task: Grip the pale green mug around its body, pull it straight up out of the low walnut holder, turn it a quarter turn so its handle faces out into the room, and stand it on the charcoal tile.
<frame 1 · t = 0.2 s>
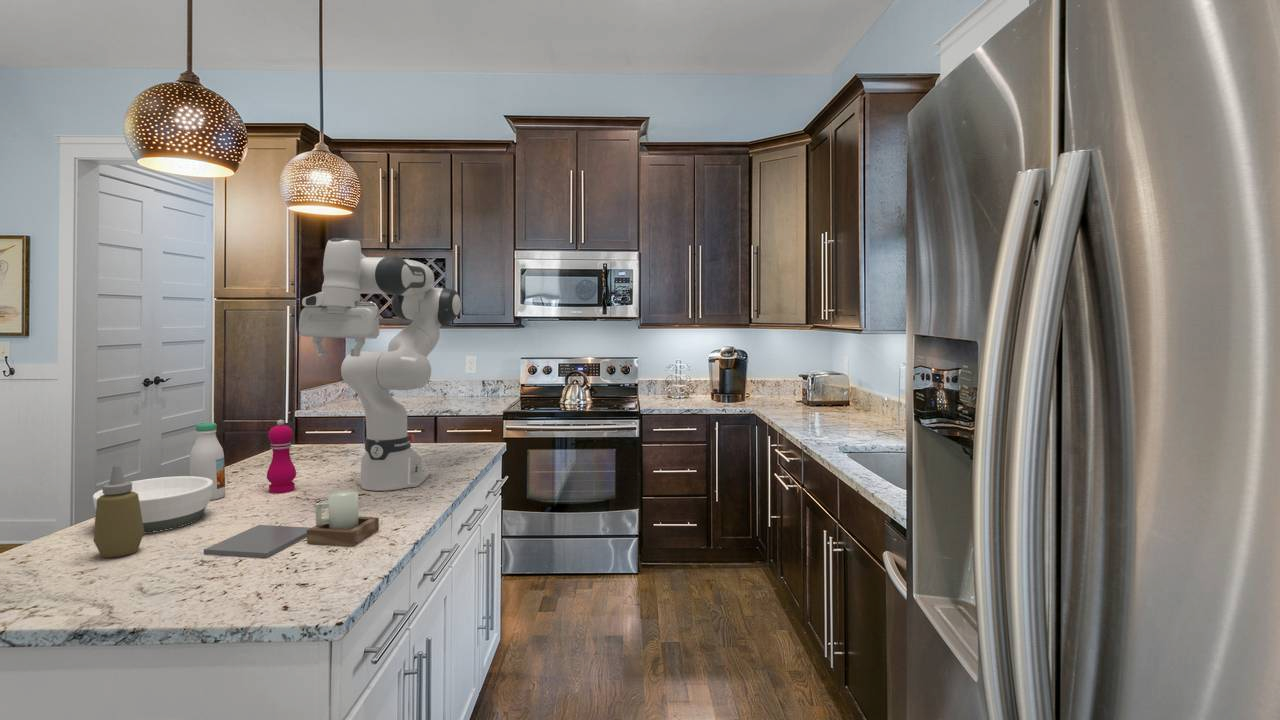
hand: (337, 356, 160), 39 cm above the countertop, tool pointing down, fingers open, 8 cm apart
squeeze bottle: (120, 554, 130), on the countertop
charcoal tile: (262, 542, 137), on the countertop
pepper mill: (282, 491, 179), on the countertop
walnut holder: (344, 536, 142), on the countertop
bowl: (156, 523, 150), on the countertop
milk bottle: (208, 498, 171), on the countertop
pale green mug: (344, 537, 142), resting in walnut holder
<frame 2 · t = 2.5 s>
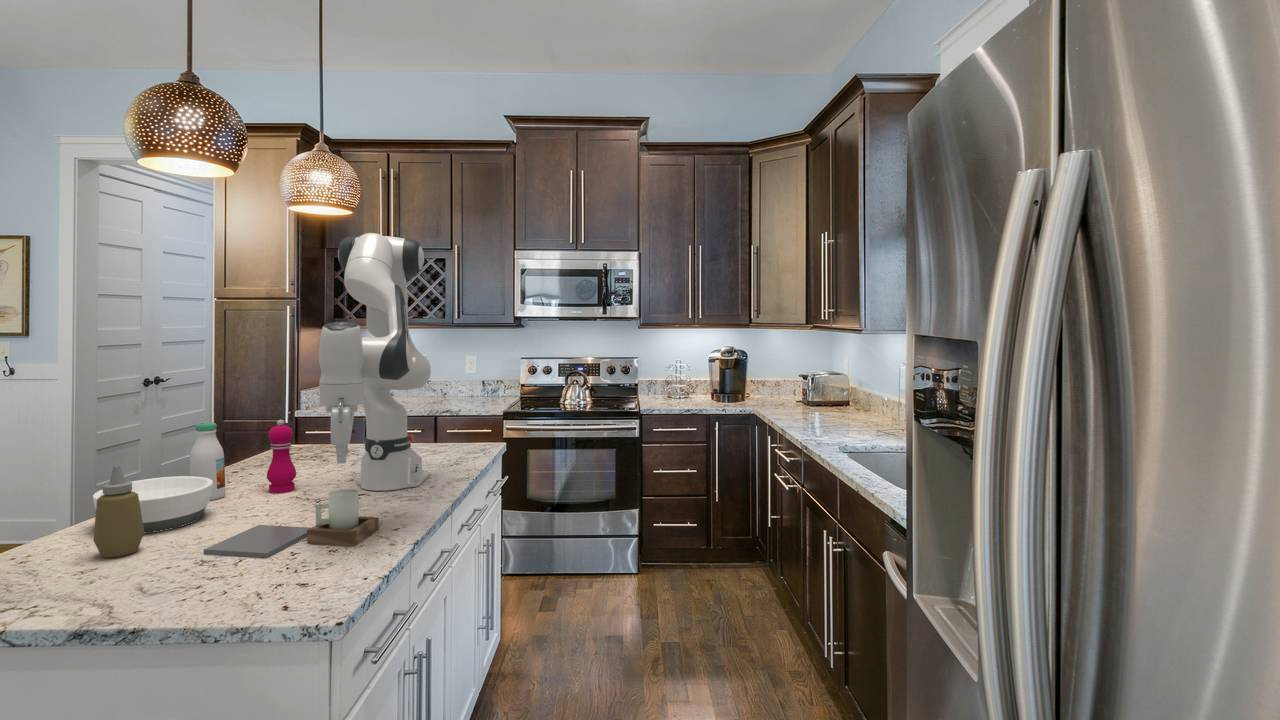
hand: (342, 458, 140), 18 cm above the countertop, tool pointing down, fingers open, 8 cm apart
nothing on the countertop moved.
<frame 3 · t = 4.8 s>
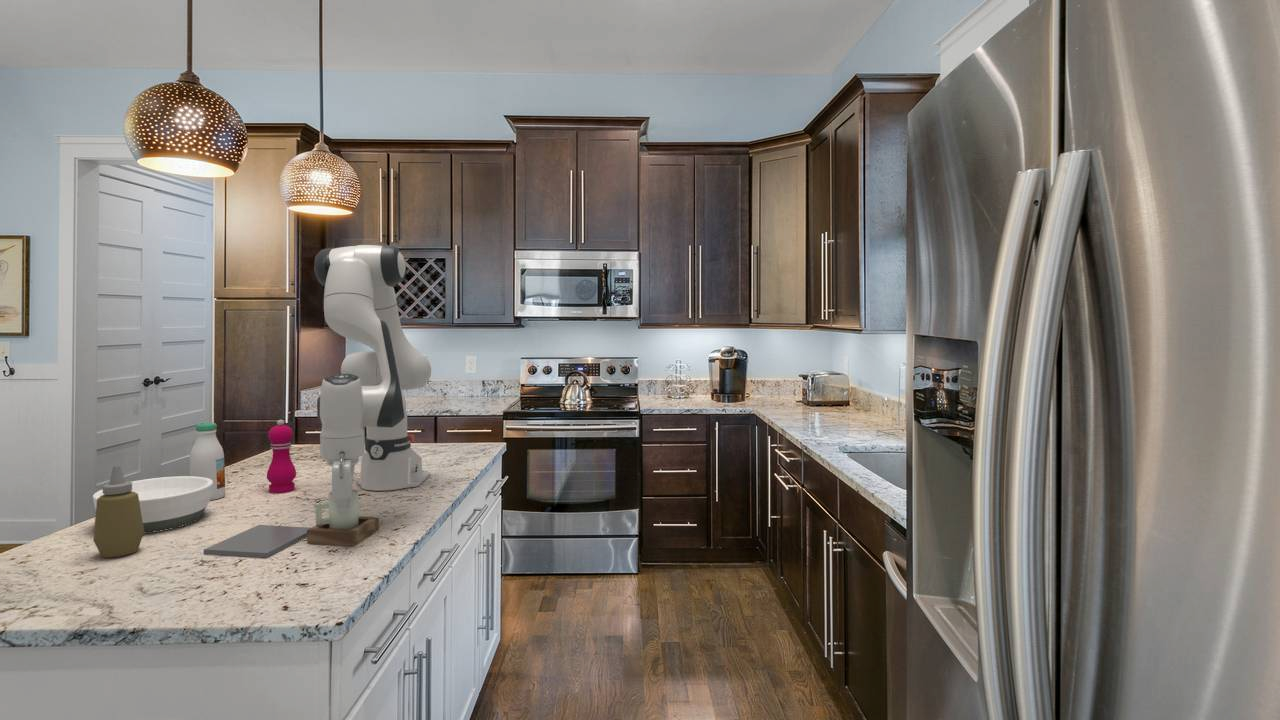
hand: (343, 509, 141), 6 cm above the countertop, tool pointing down, fingers closed on pale green mug, 6 cm apart
pale green mug: (344, 536, 142), resting in walnut holder, touching gripper
everything else where it was.
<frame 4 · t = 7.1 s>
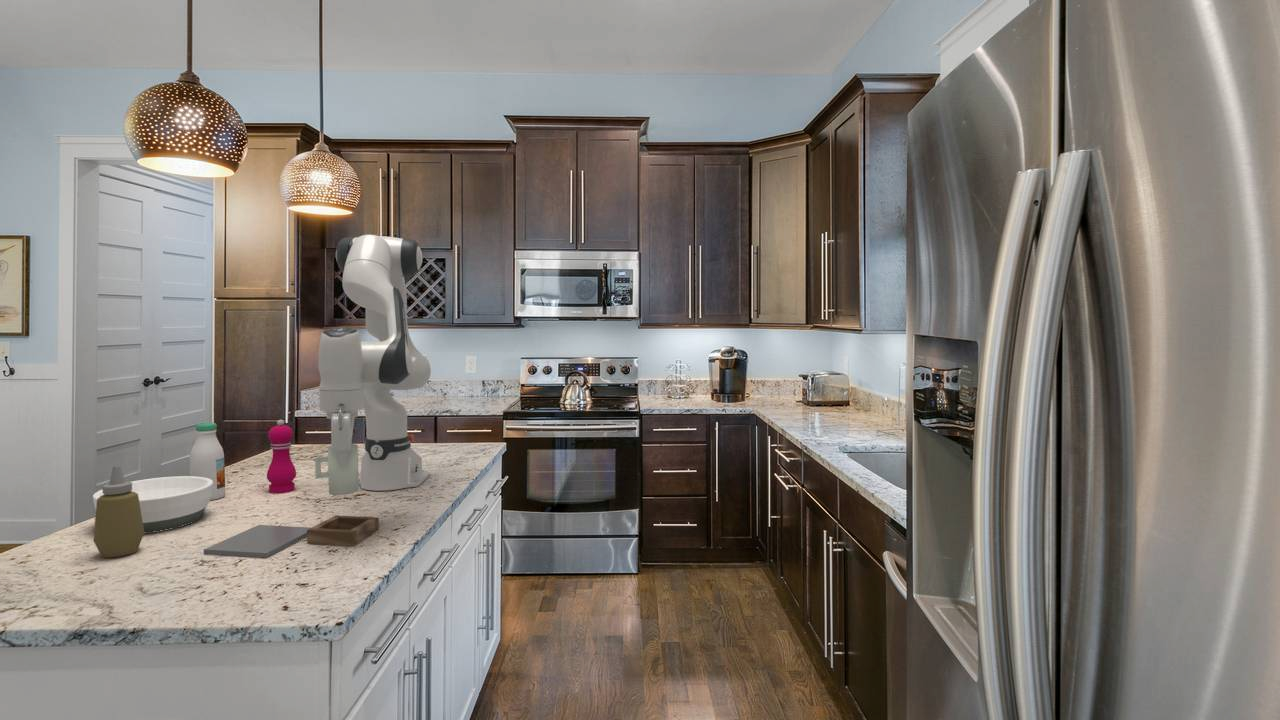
hand: (343, 463, 141), 16 cm above the countertop, tool pointing down, fingers closed on pale green mug, 6 cm apart
pale green mug: (343, 491, 141), point 10 cm above the countertop, touching gripper
everything else where it was.
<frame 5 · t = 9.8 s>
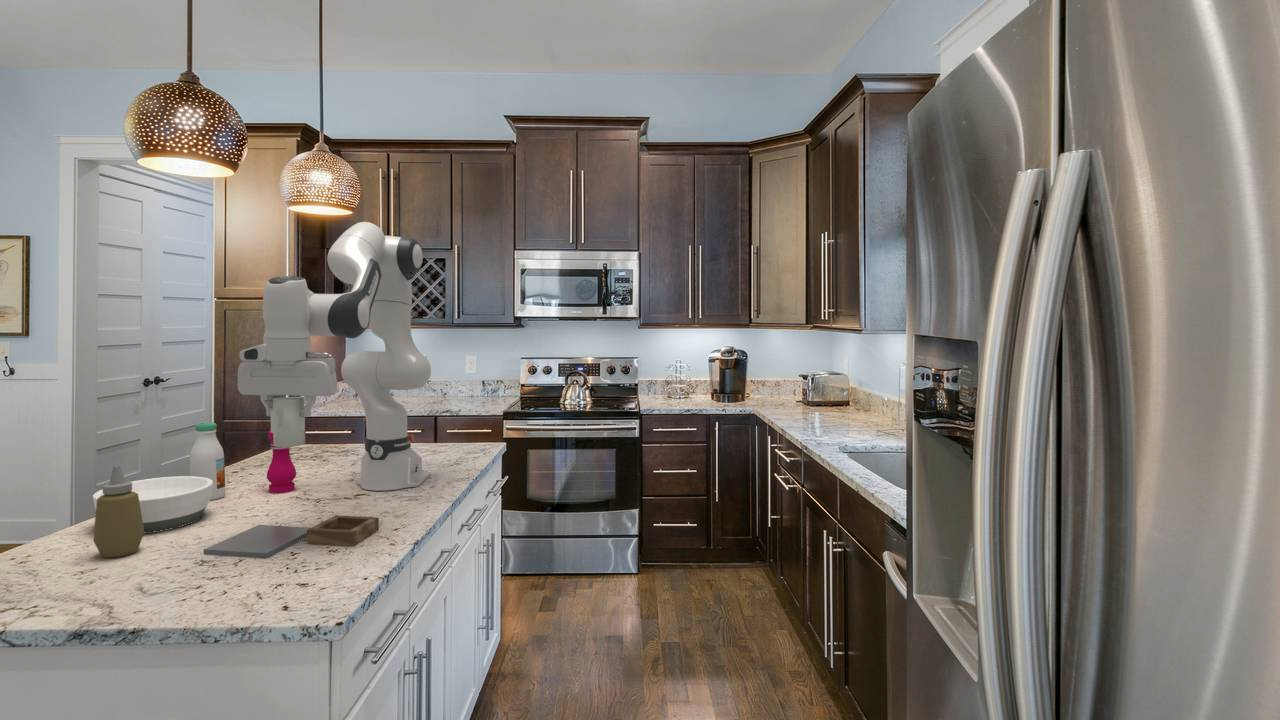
hand: (288, 416, 137), 27 cm above the countertop, tool pointing down, fingers closed on pale green mug, 6 cm apart
pale green mug: (289, 444, 137), point 21 cm above the countertop, touching gripper
everything else where it was.
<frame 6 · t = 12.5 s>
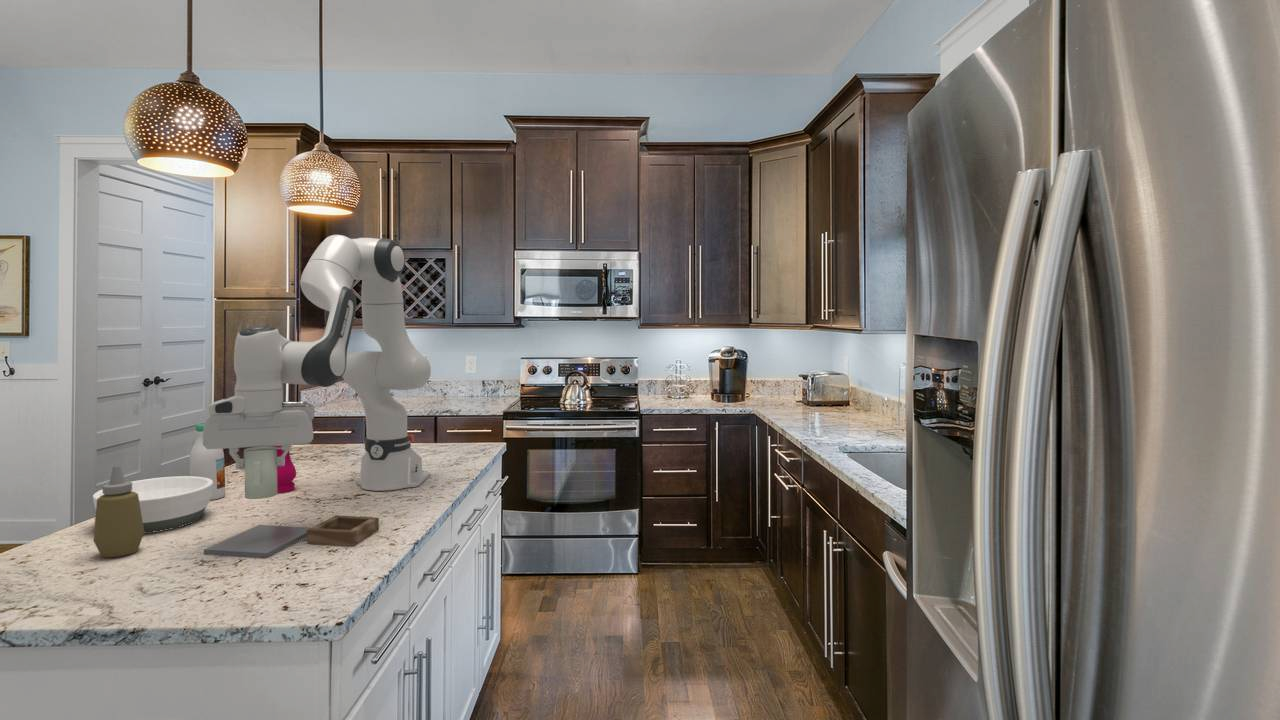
hand: (260, 466, 136), 17 cm above the countertop, tool pointing down, fingers closed on pale green mug, 6 cm apart
pale green mug: (261, 495, 137), point 10 cm above the countertop, touching gripper
everything else where it was.
when the fingers open (9 cm above the countertop, at t = 14.9 s): pale green mug drops 1 cm, resting on charcoal tile.
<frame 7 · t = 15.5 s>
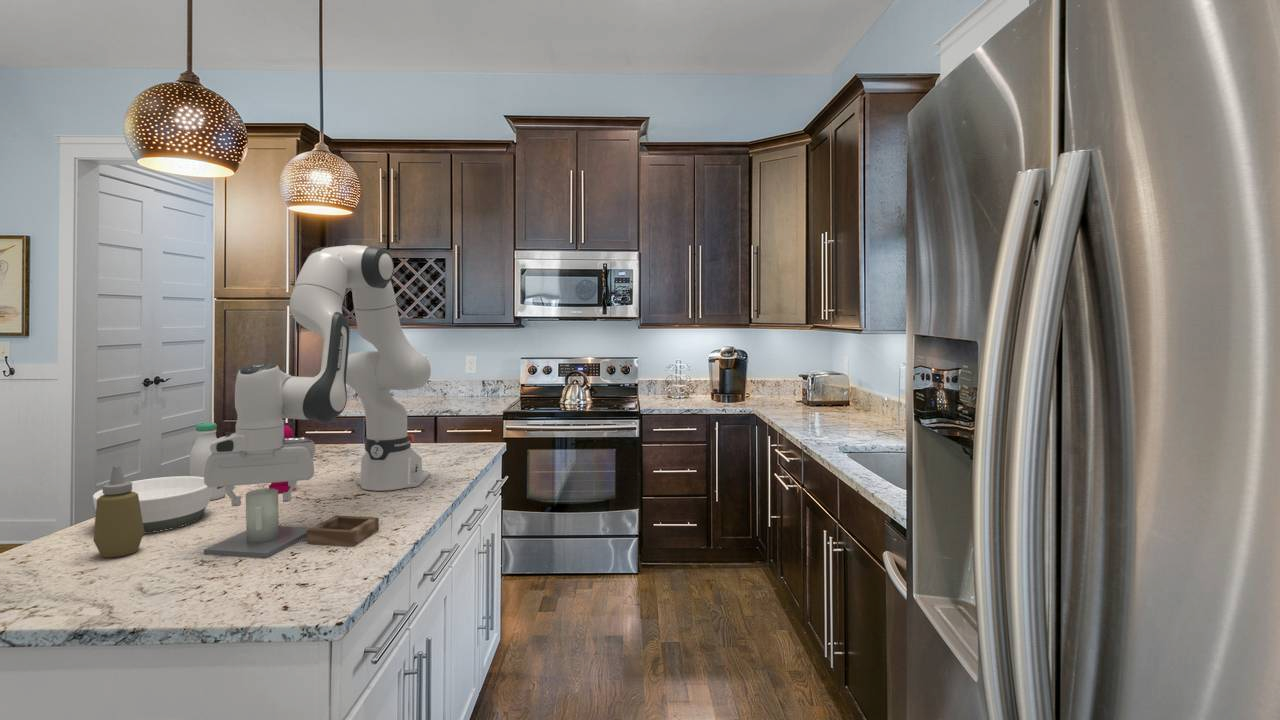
hand: (261, 503, 137), 9 cm above the countertop, tool pointing down, fingers open, 8 cm apart
pale green mug: (262, 537, 137), point 1 cm above the countertop, touching charcoal tile
everything else where it was.
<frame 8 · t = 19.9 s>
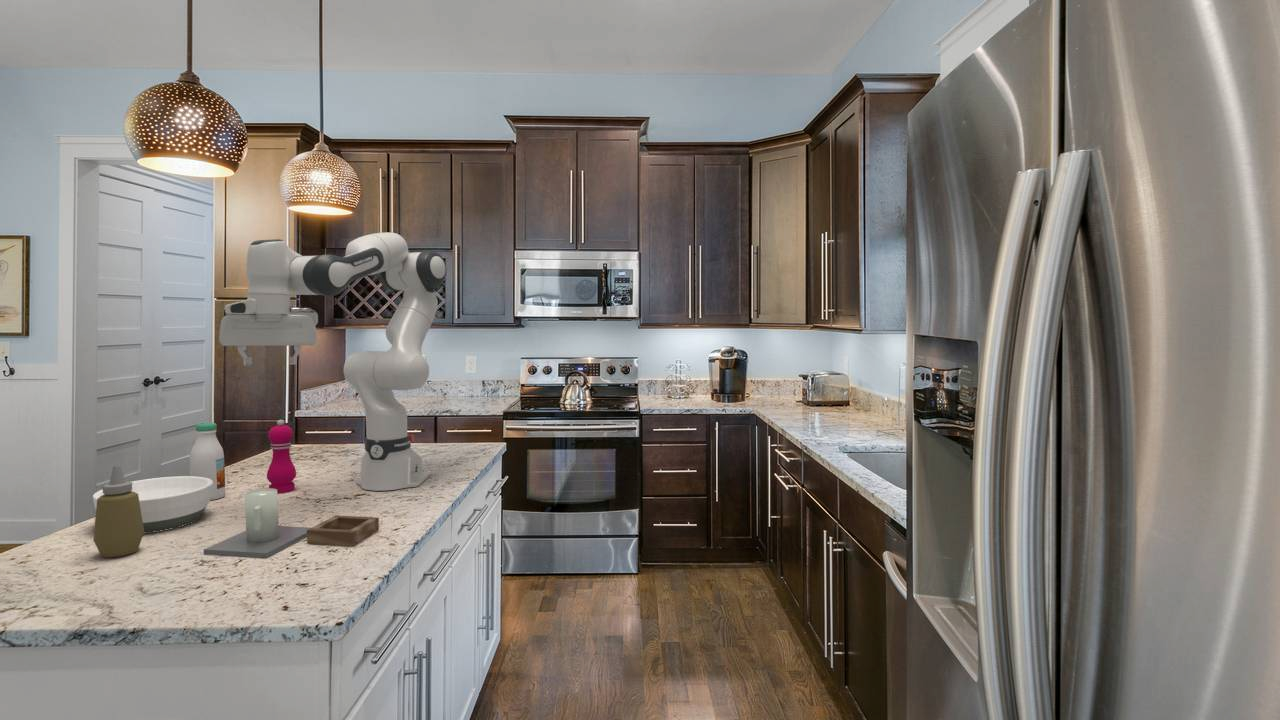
hand: (270, 364, 153), 37 cm above the countertop, tool pointing down, fingers open, 8 cm apart
nothing on the countertop moved.
at the end: pale green mug inside the target area on the charcoal tile (0.1 cm from its centre), point 1.1 cm above the charcoal tile's base; pale green mug tilted 1°; pale green mug touching charcoal tile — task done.
